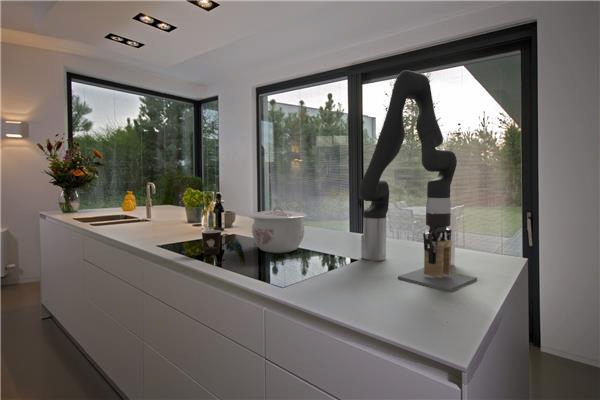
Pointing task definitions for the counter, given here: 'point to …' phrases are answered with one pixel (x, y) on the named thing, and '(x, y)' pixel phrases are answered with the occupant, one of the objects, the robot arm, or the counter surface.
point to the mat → (438, 280)
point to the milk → (452, 238)
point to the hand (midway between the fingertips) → (437, 261)
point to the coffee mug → (212, 241)
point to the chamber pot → (278, 230)
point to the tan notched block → (439, 260)
